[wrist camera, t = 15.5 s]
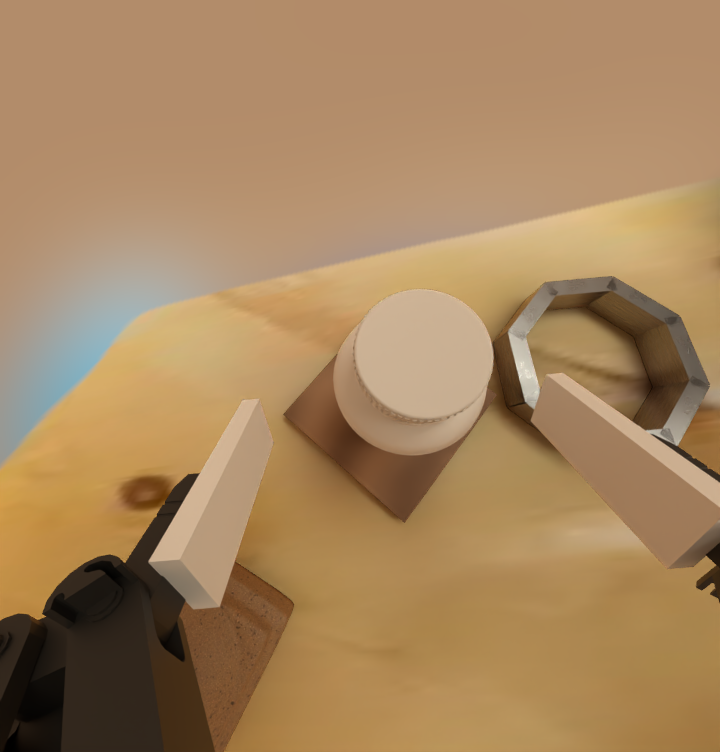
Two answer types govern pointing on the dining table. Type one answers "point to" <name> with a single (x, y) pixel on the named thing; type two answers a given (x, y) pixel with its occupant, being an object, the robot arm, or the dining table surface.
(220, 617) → the candle holder
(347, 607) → the dining table surface
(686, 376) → the collar
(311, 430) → the pad
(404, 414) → the pill bottle
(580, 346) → the dining table surface
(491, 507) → the dining table surface
